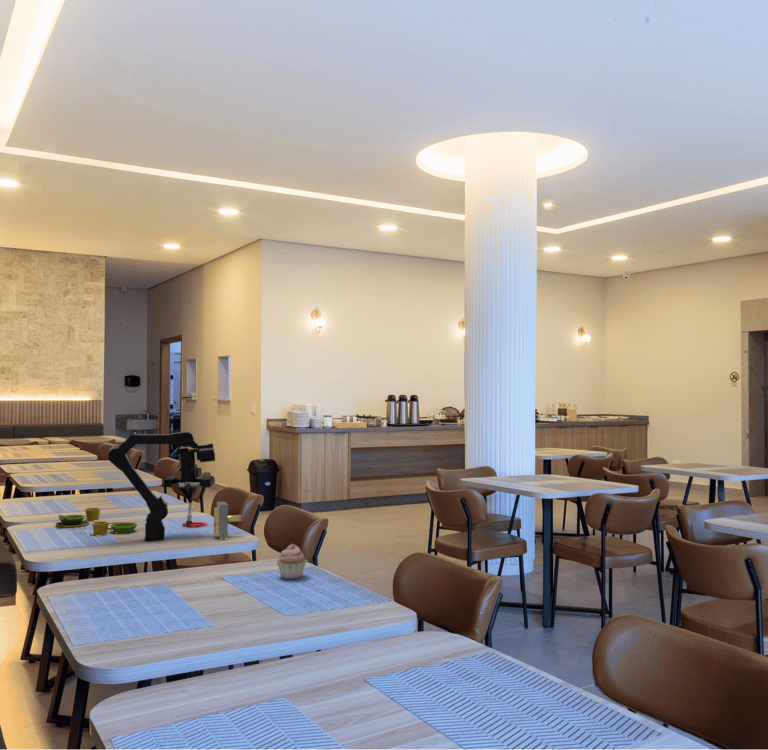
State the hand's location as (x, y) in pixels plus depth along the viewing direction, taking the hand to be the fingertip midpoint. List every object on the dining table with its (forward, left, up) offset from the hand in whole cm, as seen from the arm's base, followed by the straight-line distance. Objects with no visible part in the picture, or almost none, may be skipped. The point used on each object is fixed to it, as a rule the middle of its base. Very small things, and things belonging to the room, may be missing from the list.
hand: (190, 502), depth 275 cm
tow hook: (+4, +21, -13) cm, 26 cm away
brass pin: (+13, -7, -12) cm, 19 cm away
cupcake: (+22, -74, -13) cm, 78 cm away
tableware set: (-35, +30, -14) cm, 48 cm away
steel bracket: (+11, -7, -13) cm, 18 cm away
